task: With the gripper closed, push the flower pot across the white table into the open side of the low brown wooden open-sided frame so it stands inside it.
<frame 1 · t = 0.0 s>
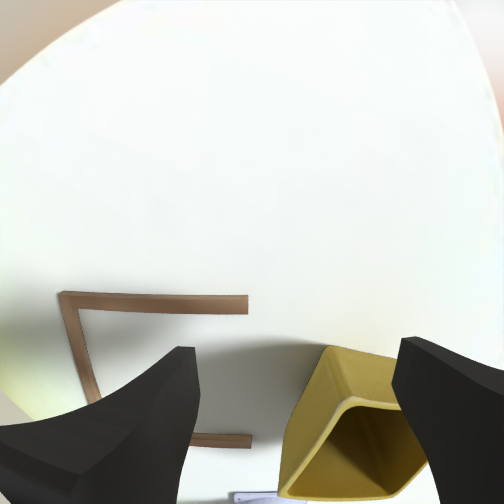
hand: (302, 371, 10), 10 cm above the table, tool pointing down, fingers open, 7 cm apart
brown wooden open-sided frame: (158, 378, 21), on the table
flower pot: (341, 375, 21), on the table
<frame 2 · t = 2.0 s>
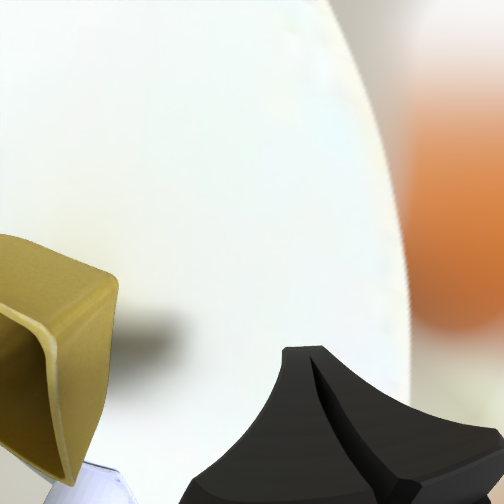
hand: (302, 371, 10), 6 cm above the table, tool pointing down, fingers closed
flower pot: (77, 300, 16), on the table
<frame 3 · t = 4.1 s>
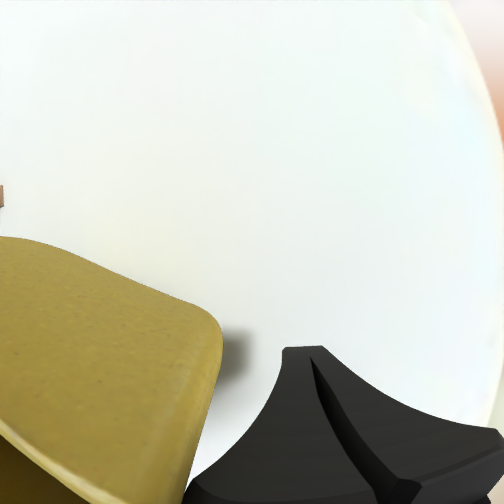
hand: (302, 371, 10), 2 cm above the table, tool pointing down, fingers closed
flower pot: (136, 337, 12), on the table, touching gripper
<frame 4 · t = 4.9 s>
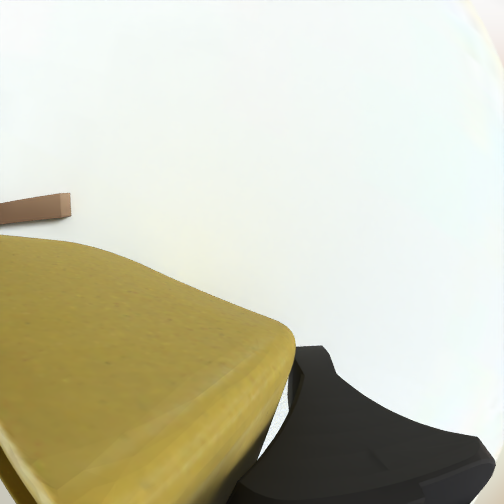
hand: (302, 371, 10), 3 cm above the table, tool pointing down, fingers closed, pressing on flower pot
flower pot: (212, 358, 12), point 1 cm above the table, touching gripper
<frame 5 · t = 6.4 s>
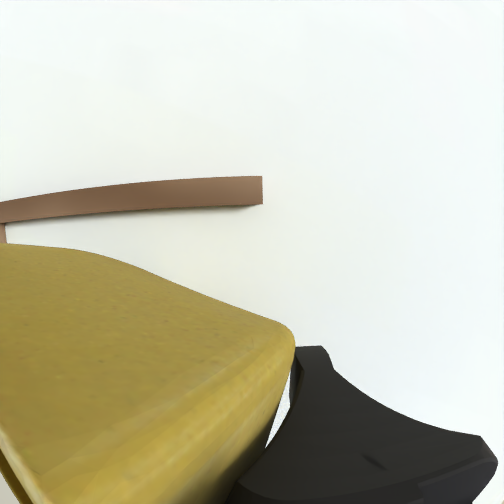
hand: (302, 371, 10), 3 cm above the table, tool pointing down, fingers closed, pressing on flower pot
brown wooden open-sided frame: (112, 343, 13), on the table
flower pot: (216, 361, 12), point 1 cm above the table, touching gripper
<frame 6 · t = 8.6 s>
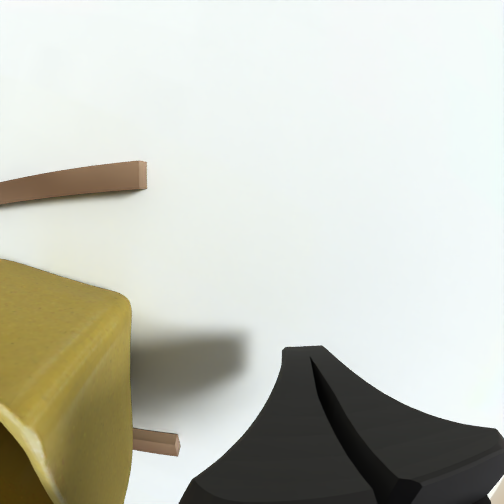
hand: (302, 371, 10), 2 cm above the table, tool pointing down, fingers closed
brown wooden open-sided frame: (35, 322, 12), on the table
flower pot: (81, 329, 12), on the table
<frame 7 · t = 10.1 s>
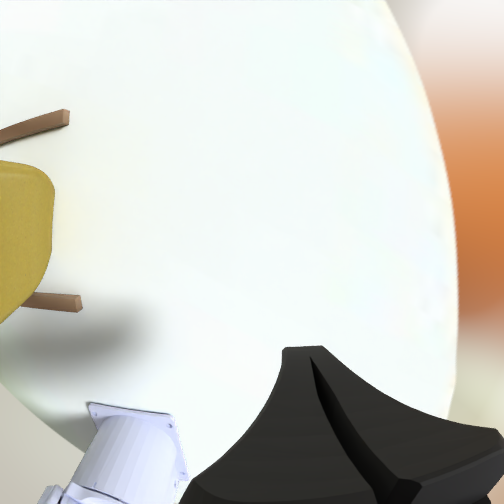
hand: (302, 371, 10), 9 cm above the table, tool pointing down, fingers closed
brown wooden open-sided frame: (6, 217, 18), on the table
flower pot: (31, 216, 18), on the table
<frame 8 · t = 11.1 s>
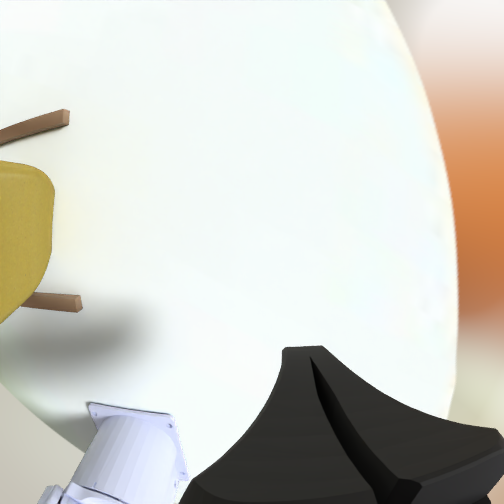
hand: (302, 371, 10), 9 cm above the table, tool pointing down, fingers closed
brown wooden open-sided frame: (6, 217, 18), on the table
flower pot: (31, 216, 18), on the table
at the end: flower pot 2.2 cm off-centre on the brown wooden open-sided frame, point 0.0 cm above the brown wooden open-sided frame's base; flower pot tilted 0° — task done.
